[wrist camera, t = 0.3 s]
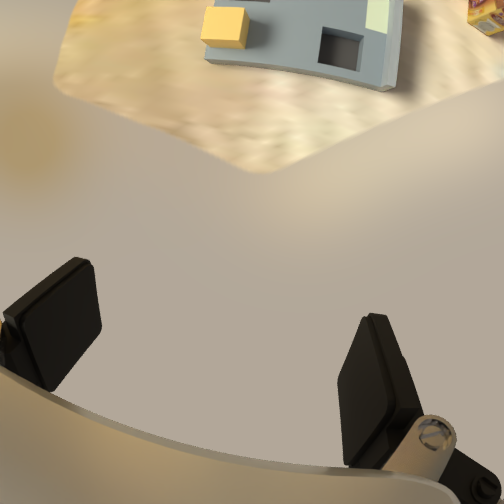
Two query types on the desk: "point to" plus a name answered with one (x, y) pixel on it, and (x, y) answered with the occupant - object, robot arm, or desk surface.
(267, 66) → the board
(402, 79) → the desk surface
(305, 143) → the desk surface
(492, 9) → the candy box
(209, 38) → the block
